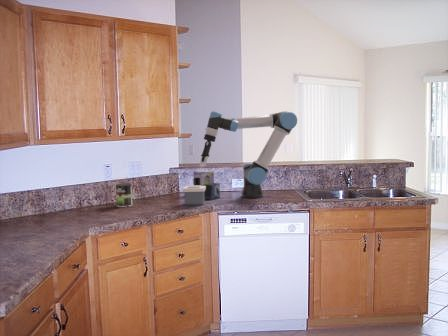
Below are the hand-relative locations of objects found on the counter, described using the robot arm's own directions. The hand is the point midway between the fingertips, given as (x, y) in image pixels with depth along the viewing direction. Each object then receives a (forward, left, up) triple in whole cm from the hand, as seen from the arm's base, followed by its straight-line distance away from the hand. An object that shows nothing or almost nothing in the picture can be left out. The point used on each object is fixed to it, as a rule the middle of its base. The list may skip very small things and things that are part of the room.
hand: (202, 166), depth 319 cm
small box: (-5, -13, -24) cm, 28 cm away
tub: (+5, +7, -24) cm, 26 cm away
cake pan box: (+2, -31, -24) cm, 39 cm away
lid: (+5, +7, -15) cm, 17 cm away
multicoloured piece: (+51, +8, -24) cm, 57 cm away
